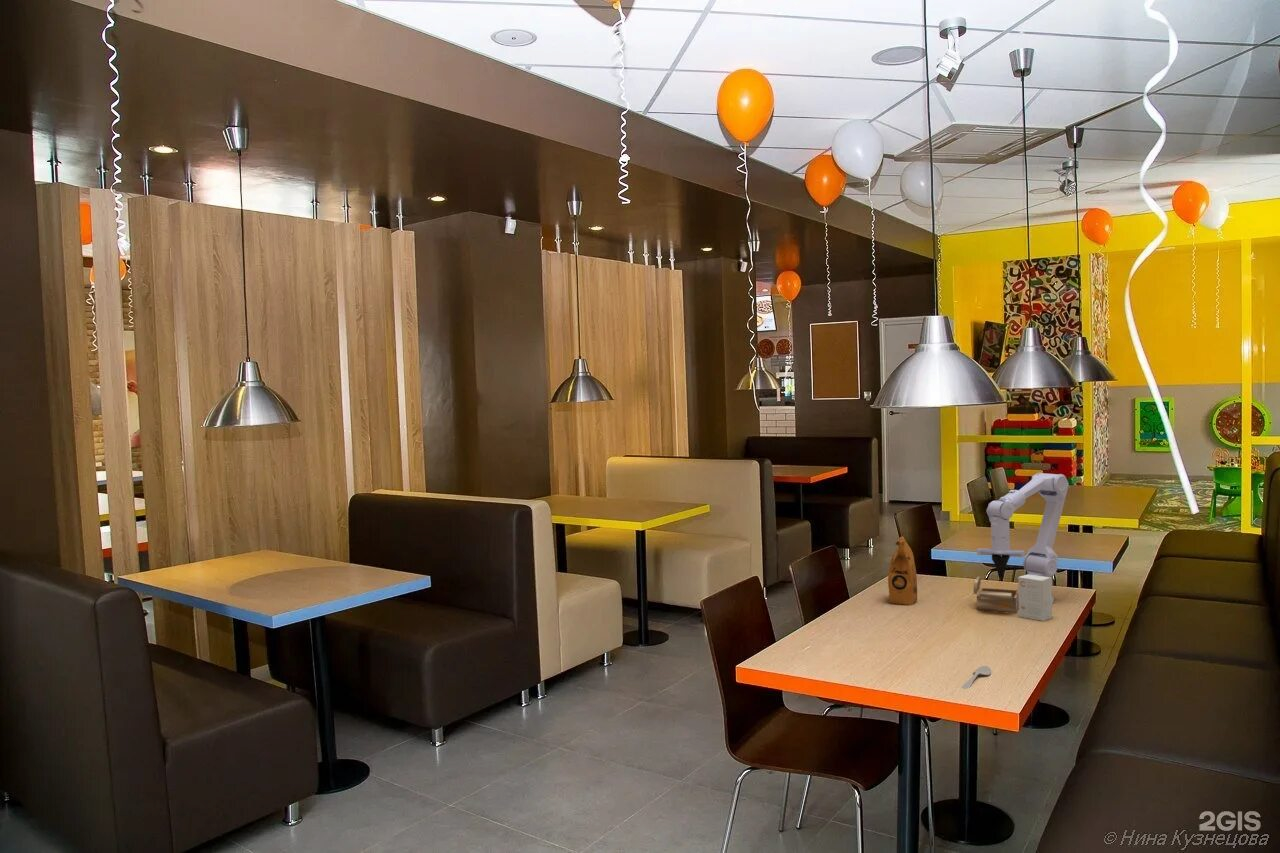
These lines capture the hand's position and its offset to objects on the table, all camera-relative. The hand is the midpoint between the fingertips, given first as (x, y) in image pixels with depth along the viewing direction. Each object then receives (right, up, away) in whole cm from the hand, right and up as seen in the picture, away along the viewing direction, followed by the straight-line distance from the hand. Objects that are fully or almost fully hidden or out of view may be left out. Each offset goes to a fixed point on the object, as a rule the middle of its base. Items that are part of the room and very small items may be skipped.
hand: (1001, 577), depth 291 cm
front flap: (-4, -5, -6) cm, 9 cm away
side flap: (-6, -3, +4) cm, 8 cm away
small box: (+6, -11, -13) cm, 18 cm away
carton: (-1, -10, +1) cm, 10 cm away
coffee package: (-29, -11, +14) cm, 34 cm away
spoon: (-36, -15, -71) cm, 81 cm away
